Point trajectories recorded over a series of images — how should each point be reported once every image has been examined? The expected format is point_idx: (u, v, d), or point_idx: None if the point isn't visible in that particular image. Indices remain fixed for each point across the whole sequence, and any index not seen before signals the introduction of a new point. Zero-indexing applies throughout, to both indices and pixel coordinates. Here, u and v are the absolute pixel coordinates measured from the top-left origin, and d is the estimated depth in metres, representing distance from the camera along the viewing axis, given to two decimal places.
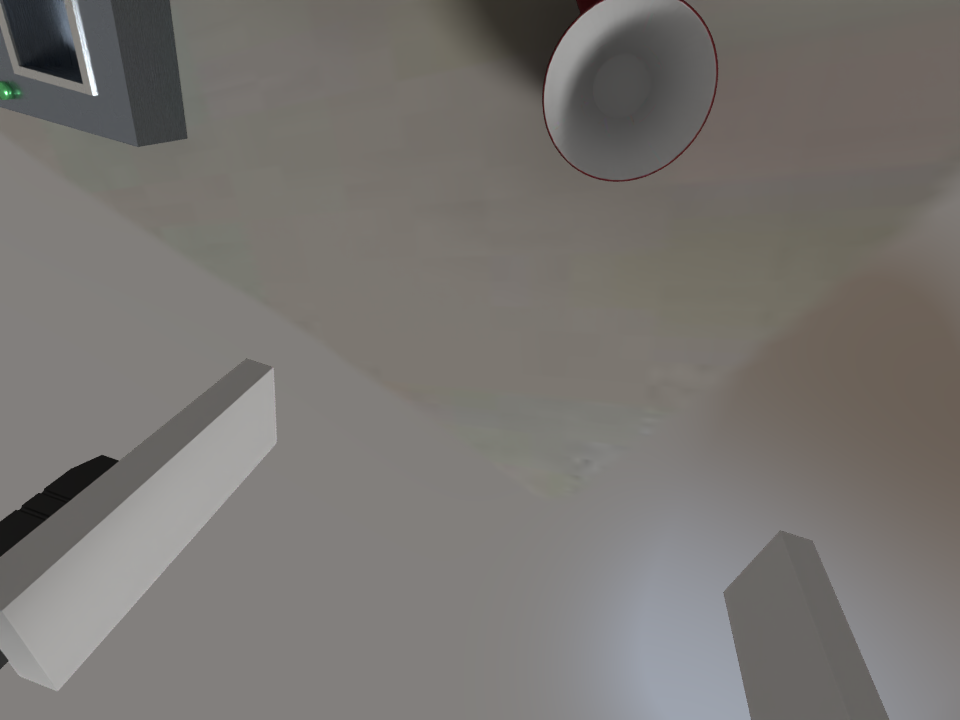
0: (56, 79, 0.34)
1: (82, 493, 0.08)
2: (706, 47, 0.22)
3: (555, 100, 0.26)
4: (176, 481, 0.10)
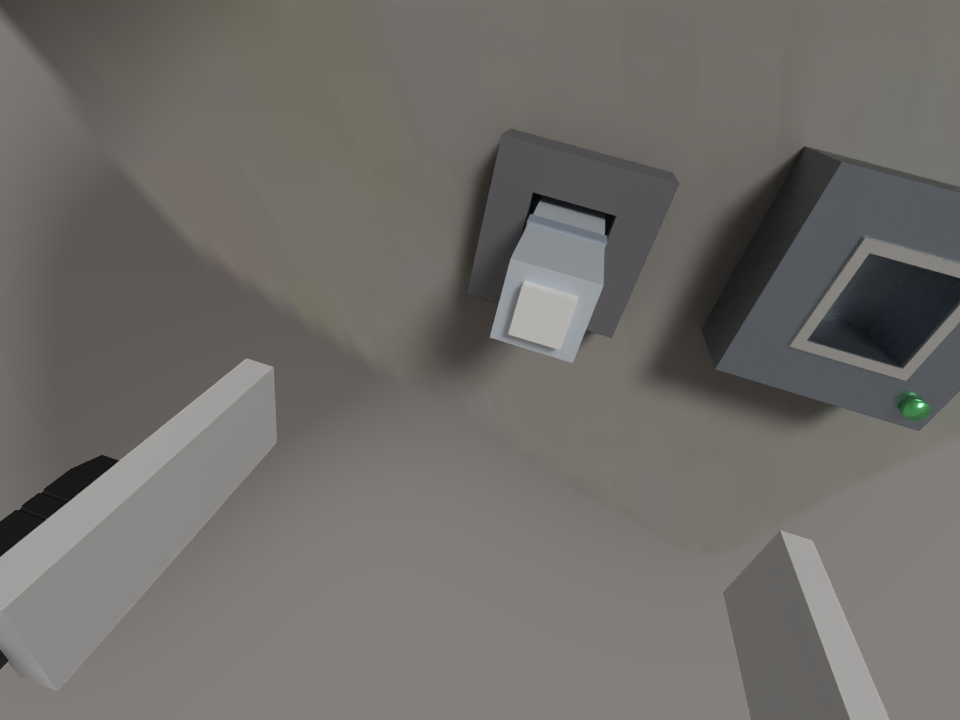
0: (948, 323, 0.24)
1: (82, 493, 0.08)
2: None
3: None
4: (176, 481, 0.10)
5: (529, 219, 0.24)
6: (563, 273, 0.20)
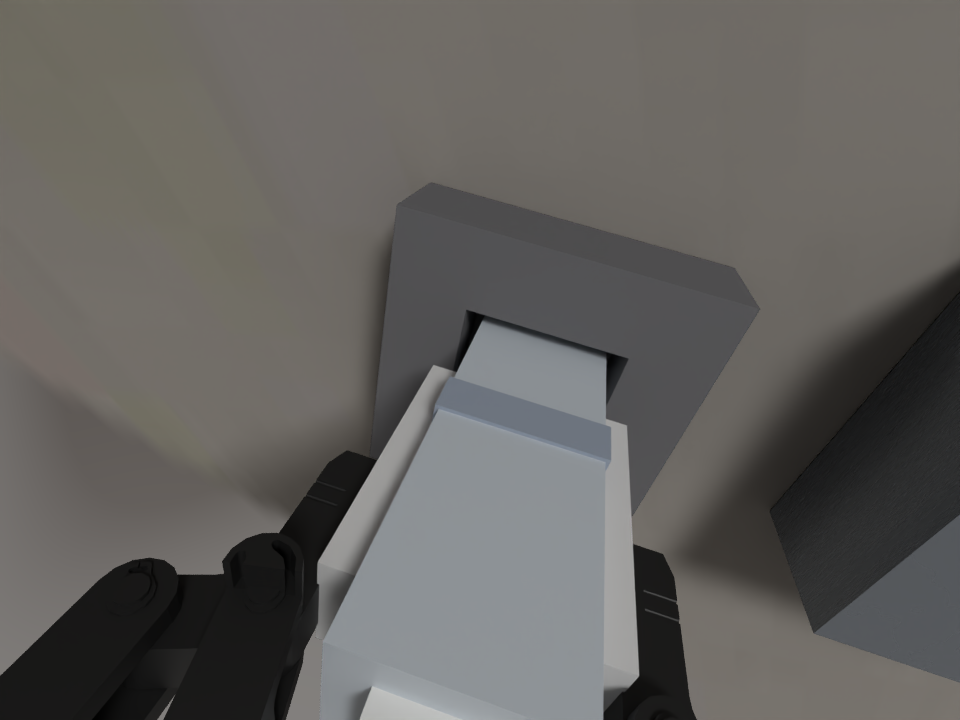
0: None
1: (366, 482, 0.10)
2: None
3: None
4: None
5: (441, 400, 0.11)
6: (480, 692, 0.06)
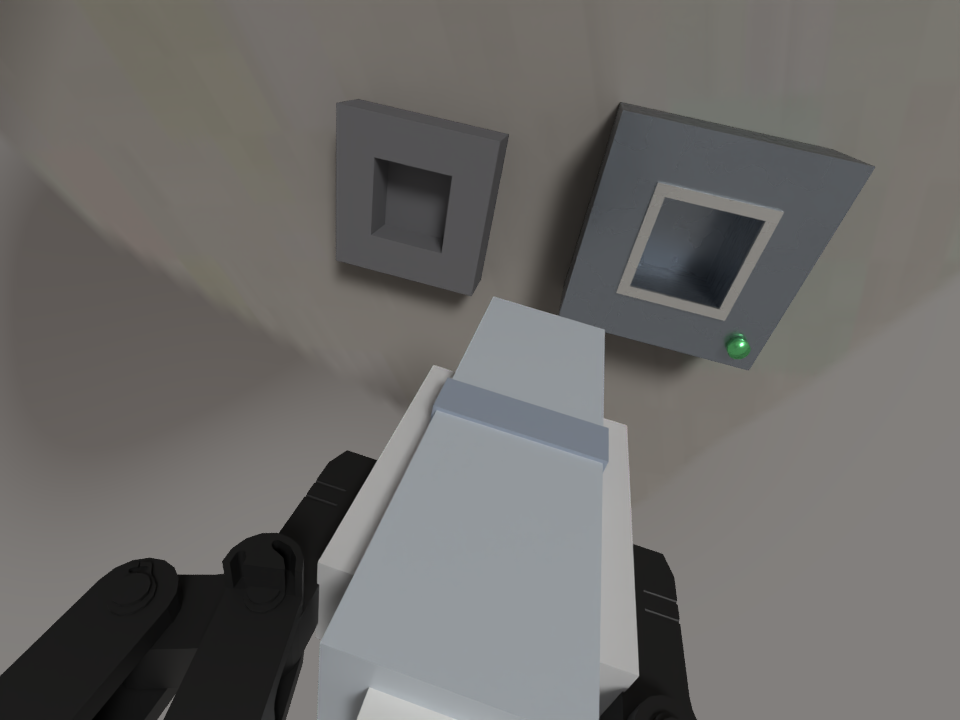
0: (748, 261, 0.25)
1: (366, 482, 0.10)
2: None
3: None
4: None
5: (438, 401, 0.11)
6: (477, 694, 0.06)
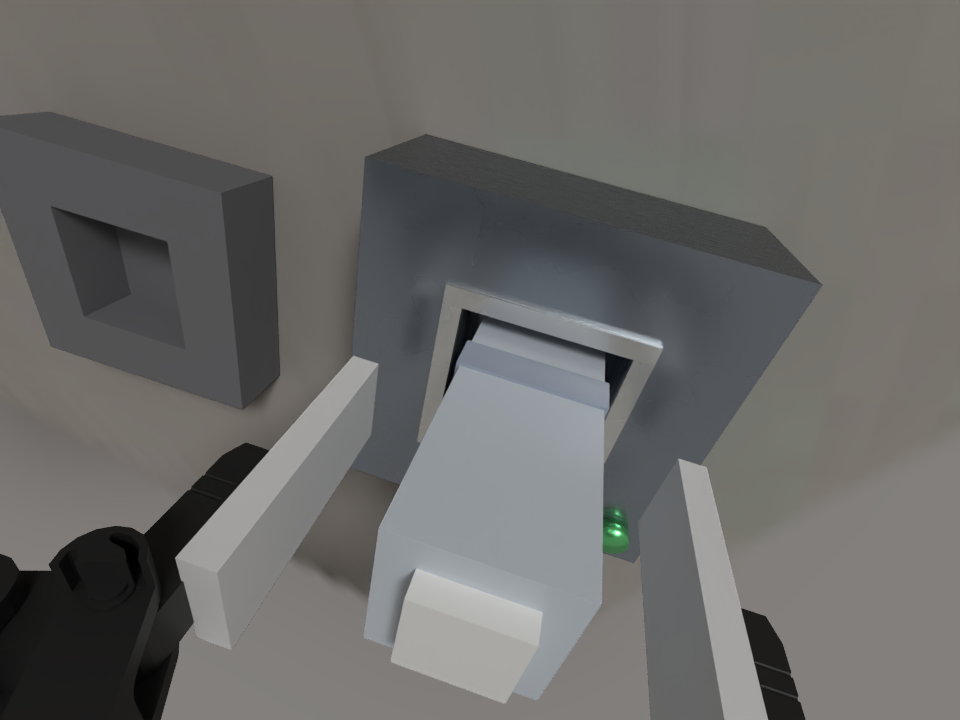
0: (612, 418, 0.15)
1: (250, 475, 0.09)
2: None
3: None
4: (315, 466, 0.11)
5: (461, 358, 0.13)
6: (504, 566, 0.08)
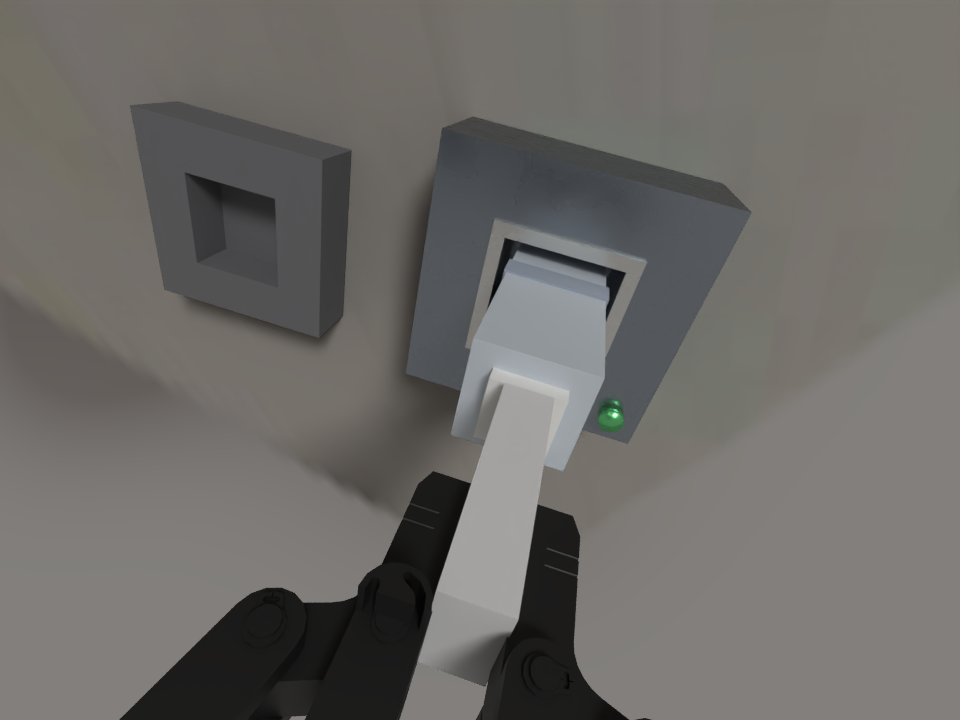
0: (611, 320, 0.21)
1: (465, 506, 0.10)
2: None
3: None
4: None
5: (507, 267, 0.19)
6: (548, 358, 0.14)
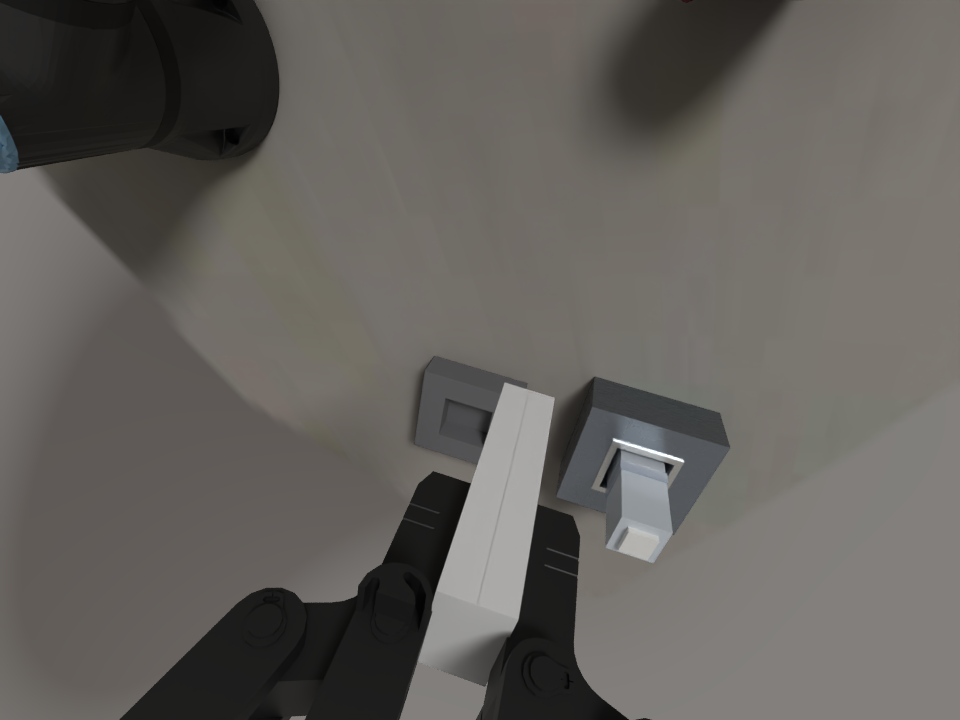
0: None
1: (464, 506, 0.10)
2: None
3: None
4: None
5: (621, 466, 0.42)
6: (650, 525, 0.37)
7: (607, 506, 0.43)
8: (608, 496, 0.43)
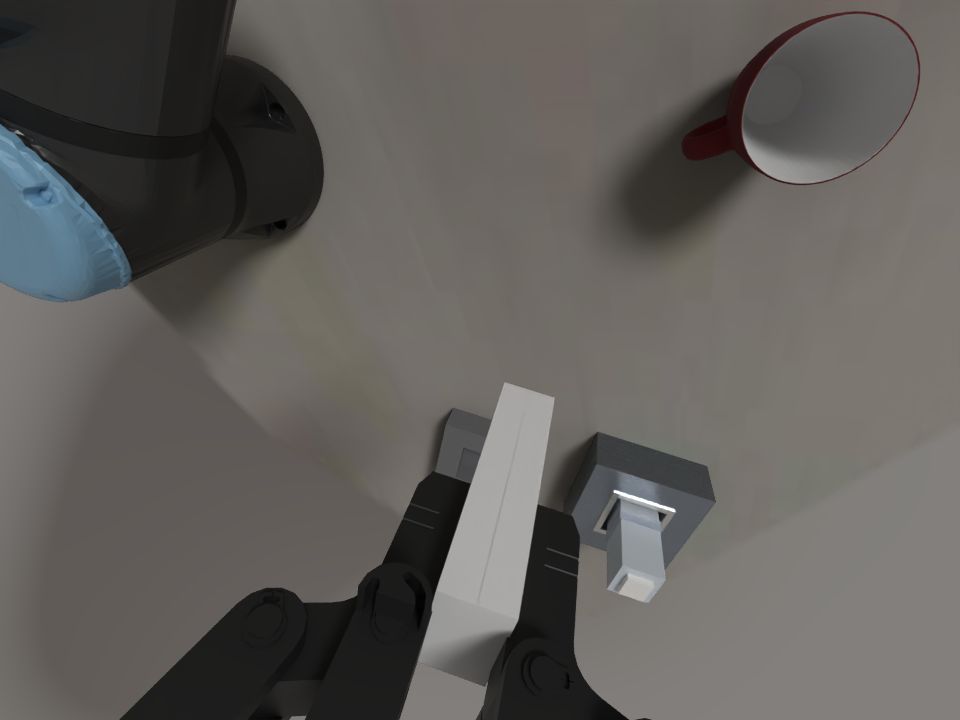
0: None
1: (465, 506, 0.10)
2: None
3: (791, 168, 0.29)
4: None
5: (621, 516, 0.48)
6: (646, 573, 0.43)
7: (608, 549, 0.49)
8: (608, 540, 0.49)
